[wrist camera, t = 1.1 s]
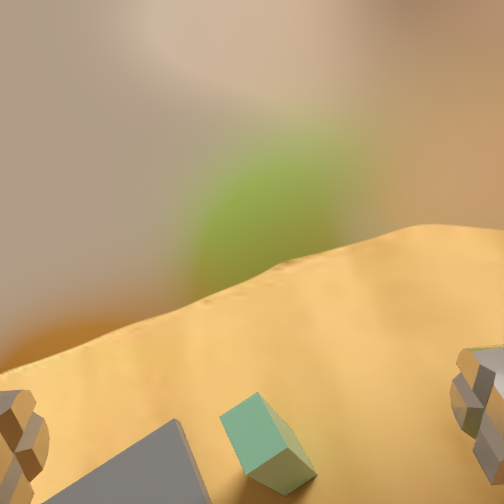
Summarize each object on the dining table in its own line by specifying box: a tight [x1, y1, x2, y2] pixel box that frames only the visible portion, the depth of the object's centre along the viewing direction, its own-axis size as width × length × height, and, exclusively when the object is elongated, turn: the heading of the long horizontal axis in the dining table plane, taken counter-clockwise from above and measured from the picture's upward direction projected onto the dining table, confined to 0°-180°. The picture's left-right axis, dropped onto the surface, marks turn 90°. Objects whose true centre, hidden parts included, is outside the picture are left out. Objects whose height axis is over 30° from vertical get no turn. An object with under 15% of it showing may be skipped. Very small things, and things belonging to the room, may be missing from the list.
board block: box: [219, 392, 317, 496], centre depth 32 cm, size 3×4×10 cm
